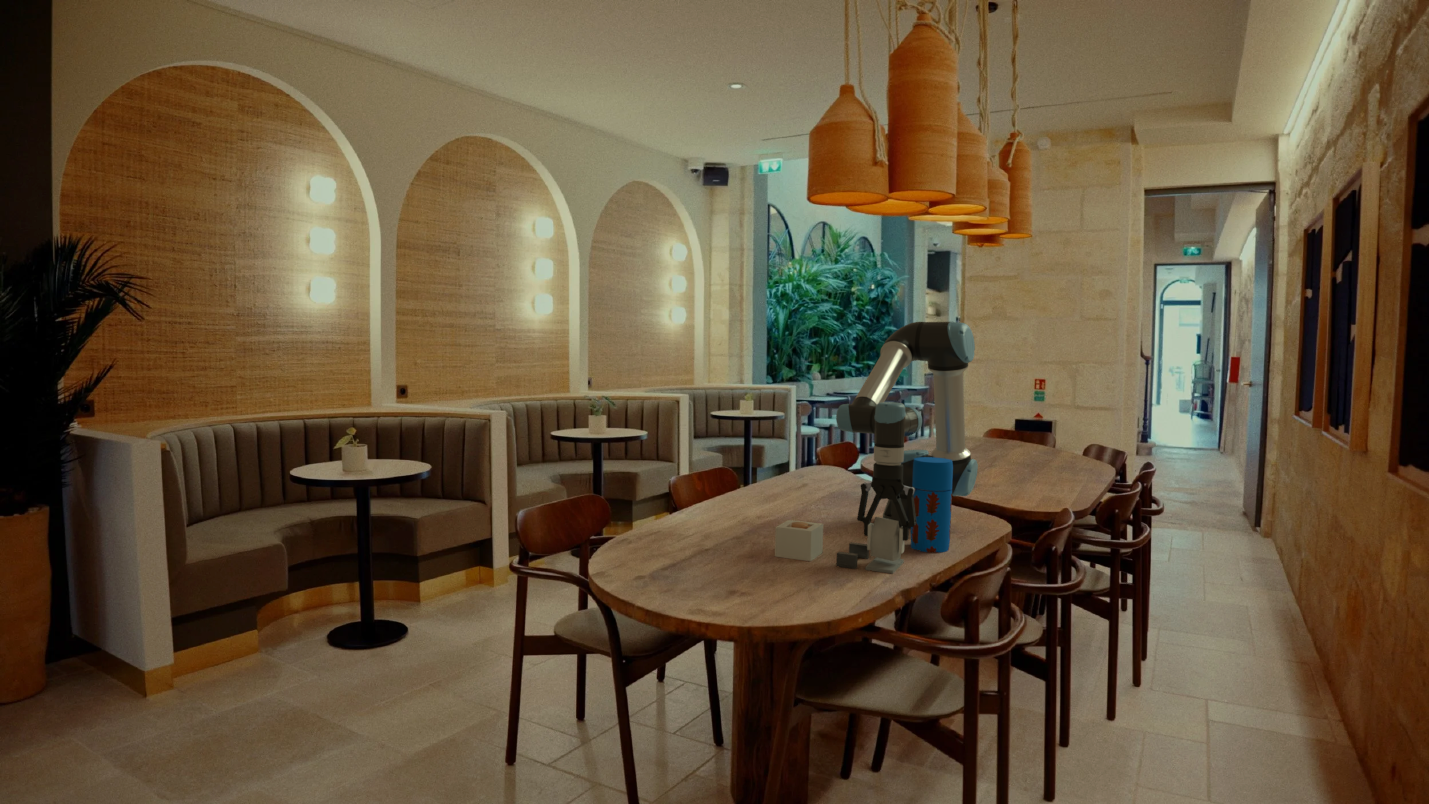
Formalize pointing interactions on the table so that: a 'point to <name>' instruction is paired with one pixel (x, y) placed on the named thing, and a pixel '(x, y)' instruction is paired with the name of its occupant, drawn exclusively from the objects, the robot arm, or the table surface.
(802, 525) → the plunger
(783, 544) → the housing
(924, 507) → the thermos
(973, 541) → the table surface
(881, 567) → the mat
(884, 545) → the tea bag
